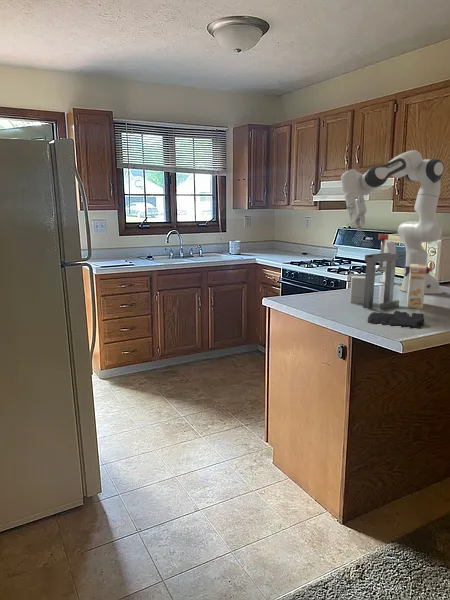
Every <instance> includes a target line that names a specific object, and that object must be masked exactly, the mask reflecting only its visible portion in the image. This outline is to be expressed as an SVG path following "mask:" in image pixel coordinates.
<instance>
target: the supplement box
mask: <svg viewBox="0 0 450 600" xmlns="http://www.w3.org/2000/svg"><path fill="white" fill-rule="evenodd" d="M365 276H366V275H365ZM365 276H363V275H361V276H360V275H351V276H350V292H349V302H350V303H353V304H364V290H365Z"/></svg>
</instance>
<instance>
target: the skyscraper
mask: <svg viewBox="0 0 450 600" xmlns="http://www.w3.org/2000/svg"><path fill="white" fill-rule="evenodd" d="M384 253H391V254H395V253H397V248H396V240H394V241H393V240H390V239H388V240H385V246H384ZM386 264H387V261H384V262H383V266H384V267H386ZM385 276H386V272H382V277H381V279H380V280H381V281H378V283H379V284H382V285H383V284H384V285H385ZM394 285H396V282H394Z"/></svg>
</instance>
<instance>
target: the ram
mask: <svg viewBox="0 0 450 600" xmlns="http://www.w3.org/2000/svg"><path fill="white" fill-rule="evenodd" d="M377 240H380V242H381V243H380V250H379V251H380V252H379V254H380V255H384V247H385V243H386V240H387V241H388V240H389V234H388V233H378V239H377ZM386 269H387V267H384V266H383V262H379V265H378V266H377V265H376V269H375V272H379V273H381V272H382V273H383V272H386Z"/></svg>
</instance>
